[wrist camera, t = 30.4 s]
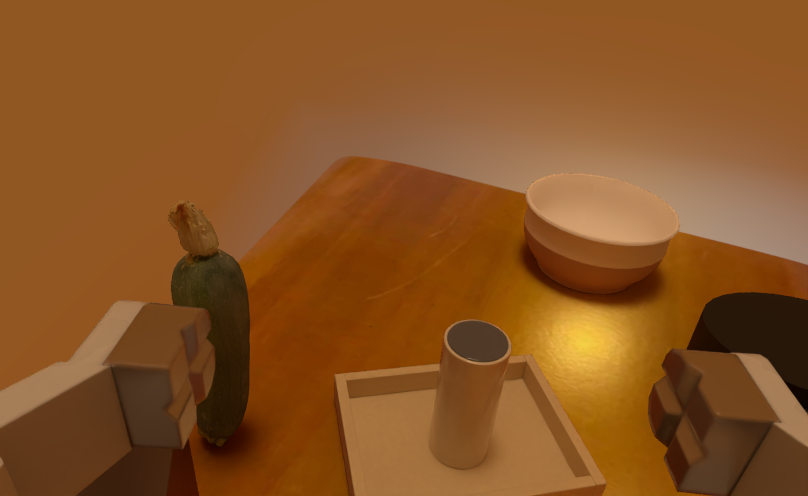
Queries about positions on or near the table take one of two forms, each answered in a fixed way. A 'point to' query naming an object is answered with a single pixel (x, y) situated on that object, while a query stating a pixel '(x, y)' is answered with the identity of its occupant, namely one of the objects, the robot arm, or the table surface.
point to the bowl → (596, 231)
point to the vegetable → (215, 318)
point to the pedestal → (148, 474)
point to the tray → (438, 483)
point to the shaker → (468, 392)
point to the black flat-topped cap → (760, 333)
